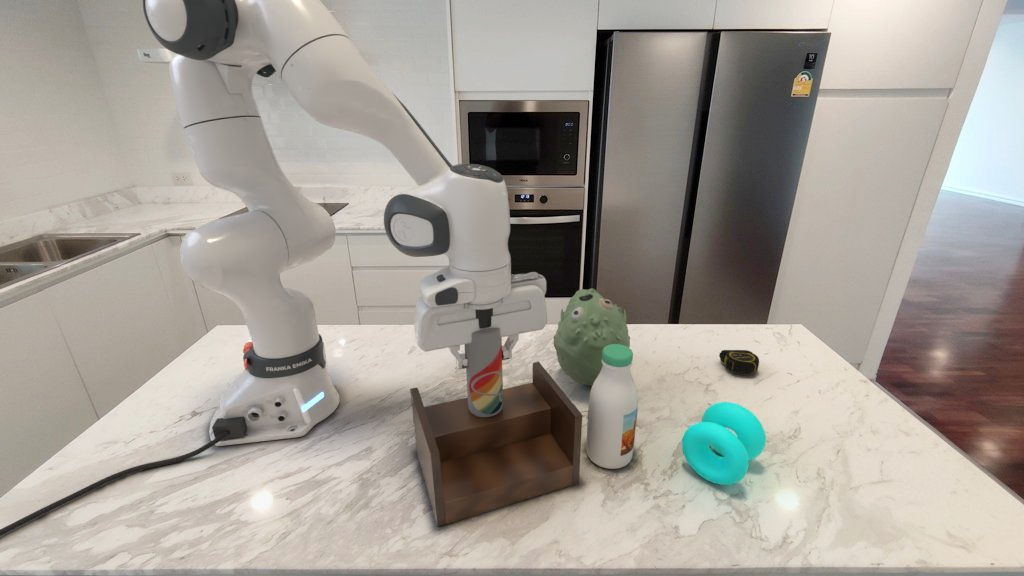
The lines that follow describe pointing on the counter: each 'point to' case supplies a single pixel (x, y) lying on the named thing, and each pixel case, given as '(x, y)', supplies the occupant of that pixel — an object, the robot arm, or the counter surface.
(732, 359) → the tape measure
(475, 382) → the lotion bottle
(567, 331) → the green monster figurine
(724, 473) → the turquoise yo-yo
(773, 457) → the counter surface
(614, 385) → the milk bottle
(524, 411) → the step rack
